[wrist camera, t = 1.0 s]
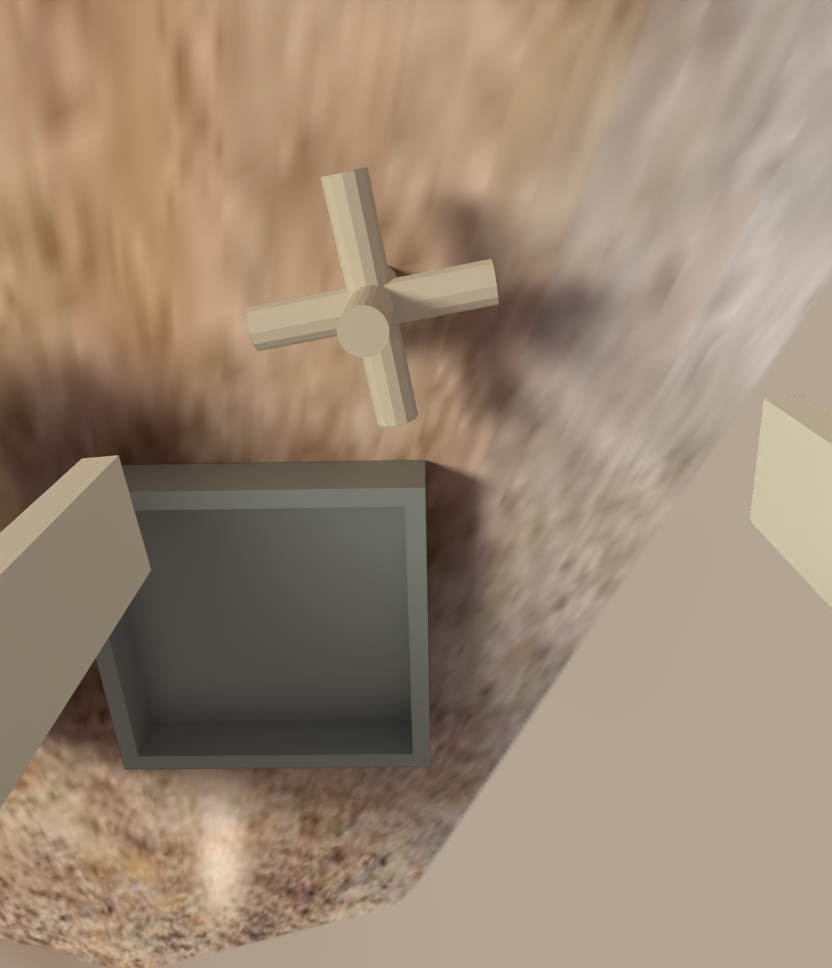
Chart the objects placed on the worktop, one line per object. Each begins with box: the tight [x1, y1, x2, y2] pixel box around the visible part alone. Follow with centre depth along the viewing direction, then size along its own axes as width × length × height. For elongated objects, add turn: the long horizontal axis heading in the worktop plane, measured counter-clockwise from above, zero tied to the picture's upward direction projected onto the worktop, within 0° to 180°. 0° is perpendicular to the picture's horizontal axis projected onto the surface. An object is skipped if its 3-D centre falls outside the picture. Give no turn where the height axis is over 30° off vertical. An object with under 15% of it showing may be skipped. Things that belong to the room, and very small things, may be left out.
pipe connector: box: [246, 168, 499, 427], centre depth 29 cm, size 10×10×10 cm
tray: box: [96, 460, 430, 769], centre depth 40 cm, size 18×18×3 cm
